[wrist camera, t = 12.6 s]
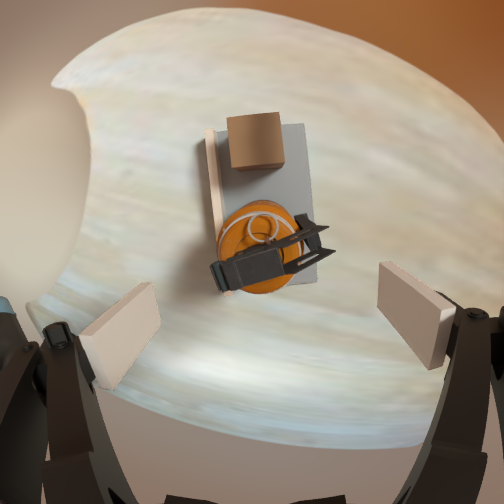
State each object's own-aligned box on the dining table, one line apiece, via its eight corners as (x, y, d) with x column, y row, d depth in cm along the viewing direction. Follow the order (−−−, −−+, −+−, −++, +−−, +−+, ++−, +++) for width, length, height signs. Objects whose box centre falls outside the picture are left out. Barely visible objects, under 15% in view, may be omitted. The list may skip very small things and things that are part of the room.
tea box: (239, 172, 39) (230, 167, 30) (234, 132, 37) (225, 117, 29) (281, 168, 38) (285, 162, 29) (277, 128, 37) (279, 111, 28)
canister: (224, 210, 40) (182, 233, 21) (296, 187, 39) (323, 187, 19) (243, 267, 42) (222, 333, 22) (314, 245, 40) (351, 297, 21)
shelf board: (227, 286, 44) (223, 296, 40) (209, 135, 39) (203, 129, 35) (316, 279, 43) (320, 288, 39) (303, 125, 38) (306, 118, 34)
